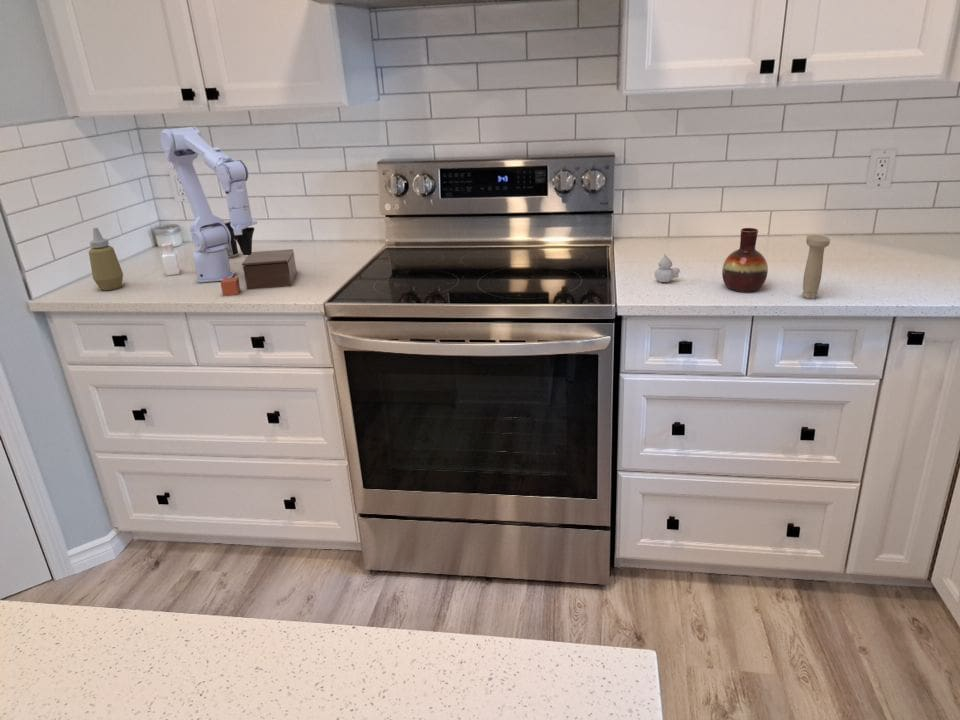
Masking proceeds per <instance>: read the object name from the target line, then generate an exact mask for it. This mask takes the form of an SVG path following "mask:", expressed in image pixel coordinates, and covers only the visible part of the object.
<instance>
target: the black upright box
mask: <svg viewBox="0 0 960 720" xmlns="http://www.w3.org/2000/svg"><path fill="white" fill-rule="evenodd" d="M222 220H223V222H224V224H225V226H226V227H227V228H228V230H229V232H230V235H231V241H230V243H229V244H228V248H226V249H227V254H228V259H231V258H235V257H237V256H238V255H239V247H238V242H237V241H236V239H235V238H234V236H233V235H232V231H234V230H233V228H232V227H231V225H230V223H231V221H230V219H222Z"/></svg>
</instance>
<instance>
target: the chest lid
mask: <svg viewBox="0 0 960 720" xmlns="http://www.w3.org/2000/svg"><path fill="white" fill-rule="evenodd" d="M293 251H294V249H293V248H290V249H275V250H274V249H273V250H263V251H261V250H260V251H252V253H251V255H246V257H245V258H244V260H243V261H242V263H241V266H242V267H243V266H244V265H257V264H270V263H284V262H288V260H289V258H290V256H291V254H292V253H293Z"/></svg>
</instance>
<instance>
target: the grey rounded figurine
mask: <svg viewBox="0 0 960 720" xmlns="http://www.w3.org/2000/svg"><path fill="white" fill-rule="evenodd" d="M657 265H658V268H657V269H656V270H655V271H654V274H653V275H654V278H655V279H656V280H657V281H658V282H659V283H669V282H670V281H672V280H673V279H677V278H679V273H680V270H681V269H680V268H678V267H673V262H672V260H671V258H669V257H668V256H667V254H666V253H664V256H663V257H662V258H661V259H660V261H659V262H658V263H657Z"/></svg>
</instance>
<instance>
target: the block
mask: <svg viewBox="0 0 960 720" xmlns="http://www.w3.org/2000/svg"><path fill="white" fill-rule="evenodd" d="M220 286H221V291H222V296H223V297H227V296H238V295H239V294H240V292H241V285H240V281H239V277H238V276H235V277H234V276H233V277H232V278H224V279H223V280H222V281H220Z"/></svg>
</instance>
